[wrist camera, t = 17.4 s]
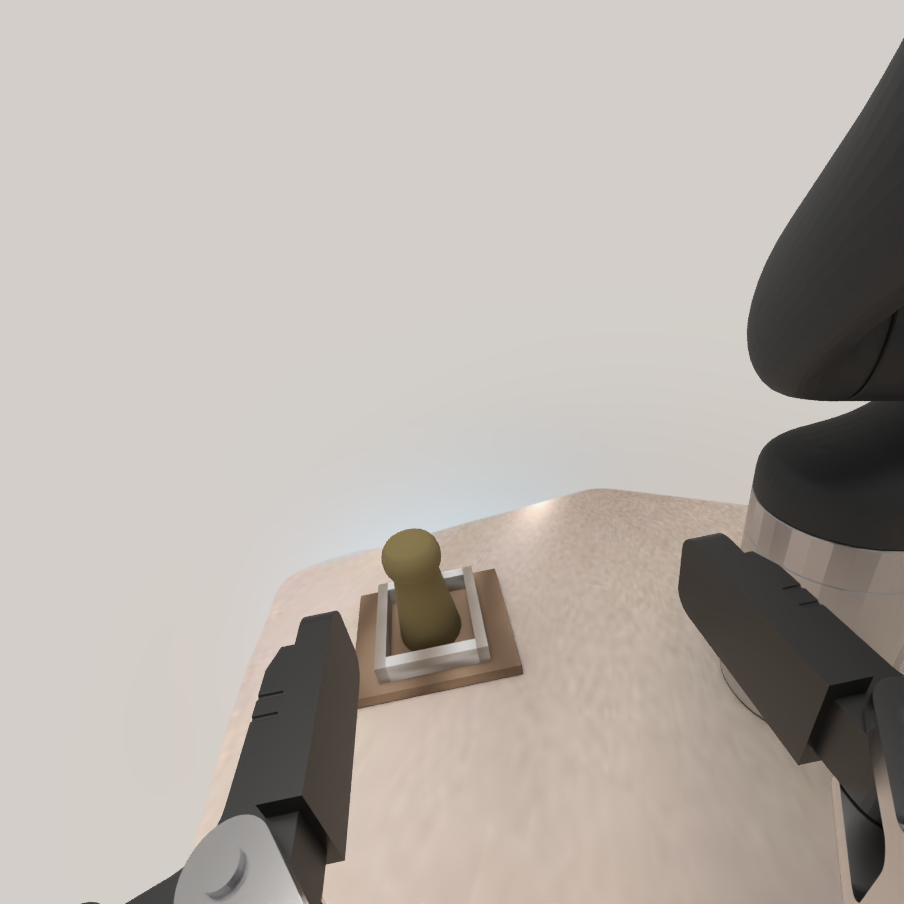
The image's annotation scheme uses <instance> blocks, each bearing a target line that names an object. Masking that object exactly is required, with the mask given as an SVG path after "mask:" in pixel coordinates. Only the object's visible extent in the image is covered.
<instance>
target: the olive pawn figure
mask: <svg viewBox="0 0 904 904" xmlns="http://www.w3.org/2000/svg"><path fill="white" fill-rule="evenodd" d="M440 561H441V551H440V546H439V544H438V542H437V541H436V539H435V537H434V536H433V535H431V534H430V533H429V532H427V531H425V530H422V529H408V530H404V531H401V532H398V533H397V534H395V535H393V536H392V537H391V538H390V539H389V540H388V541H387V542H386V544H385V546H384V548H383V550H382V564H383V567H384V570H385V572H386V574H387V575H388V577H389V578H391V579H392V580H393V581H394V587H395V595H396V602H397V610H398V617H399V625H400V632H401V638H402V640H403V643H404V645H405V646H406V647H407V648H408V649H409V650H411V651H418V650H423V649H427V648H432V647H437V646H442V645H447V644H451V643H454V642H455V640H456V639H457V637H458V636H459V634H460V630H461V626H462V625H461V618H460V615H459V613H458V611H457V608H456V606H455V604H454V601H453V599H452V597H451V594H450V592H449V590H448V587H447V585H446V583H445V580H444V578H443V576H442V573H441V571H440V569H439V565H440Z"/></svg>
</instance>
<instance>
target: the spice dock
mask: <svg viewBox="0 0 904 904" xmlns="http://www.w3.org/2000/svg"><path fill="white" fill-rule="evenodd" d="M441 573H442V576H443V578H444V580H445V583H446V585H447V587H448V590H449V592H450V594H451V597H452V599H453V601H454V604H455V606H456V608H457V611H458V613H459V615H460V618H461V625H462V626H461V630H460V634H459V636H458V637H457V639H456V640H455V642H454V643H451V644H447V645H442V646H437V647H432V648H427V649H423V650H418V651H411V650H409V649H408V648H407V647H406V646H405V645H404V643H403V640H402V638H401V632H400V625H399V617H398V610H397V602H396V595H395V587H394V582H391V583H386V584H381V585H379V587H378V593H374V594H369V595H364V596H361V602H360V612H359V622H358V632H357V642H356V654H357V658H358V662H359V671H360V685H359V697H358V708H362V707H367V706H372V705H377V704H381V703H386V702H391V701H396V700H400V699H405V698H410V697H415V696H419V695H424V694H429V693H434V692H438V691H443V690H448V689H453V688H458V687H462V686H467V685H472V684H477V683H481V682H486V681H491V680H496V679H500V678H505V677H510V676H515V675H519V674H523V672H522V665H521V661H520V658H519V654H518V650H517V647H516V643H515V640H514V636H513V633H512V629H511V625H510V622H509V618H508V615H507V611H506V607H505V604H504V600H503V597H502V593H501V589H500V586H499V582H498V579H497V575H496V572H495V569H491V570H486V571H481V572H476V573H473V572H472V567H471V566H469V567H464V568H459V569H454V570H449V571H444V572H441Z"/></svg>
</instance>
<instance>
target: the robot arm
mask: <svg viewBox="0 0 904 904" xmlns="http://www.w3.org/2000/svg"><path fill="white" fill-rule="evenodd" d="M747 327H748V328H747V341H748V351H749V355H750V360H751V362H752V365H753V367H754V369H755V371H756V373H757V374H758V376H759V377H760V379H761V380H762V381H763V382H764V383H765V384H766V385H767V386H769V387H770V388H771V389H772V390H774V391H776V392H779V393H781V394H783V395H786V396H789V397H794V398H800V399H808V400H818V401H871V402H869V403H867V404H866V405H863V406H861V407H860V408H857V409H855V410H853V411H851V412H849V413H846V414H843V415H840V416H838V417H835V418H831V419H828V420H825V421H821V422H817V423H814V424H810V425H807V426H803V427H799V428H796V429H793V430H790V431H787V432H785V433H783V434H781V435H779V436H777V437H775V438H774V439H772V440H771V441H770V442H769V443H767V445H766V446H765V447H764V448H763V449H762V451H761V453H760V455H759V458H758V461H757V464H756V469H755V475H754V480H753V485H752V490H751V495H750V500H749V506H748V511H747V516H746V523H745V528H744V533H743V538H742V544H741V549H740V548H739V547H738V546H737V545H736V544H735V543H734V542H733V541H732V540H731V539H729V538H728V537H727V536H726V535H724V534H722V533H717V534H712V535H707V536H702V537H698V538H693V539H688V540H686V541H685V542H684V543H683V548H682V557H681V566H680V576H679V585H678V591H679V597H680V600H681V603H682V605H683V608H684V610H685V612H686V613H687V615H688V616H689V618H690V619H691V620H692V622H693V623H694V624H695V626H696V627H697V629H698V630H699V631H700V633H701V634H702V635H703V637H704V638H705V639H706V641H707V642H708V643H709V645H710V646H711V647H712V649H713V650H714V652H715V653H716V654H717V656H718V657H719V658H720V661H721V668H722V671H723V674H724V677H725V679H726V681H727V683H728V684H729V686H730V688H731V689H732V691H733V692H734V693H735V694H736V695H737V697H738V698H739V699H740V700H741V701H742V702H743V703H744V704H745V705H746V706H747V707H749V708H750V709H751V710H752V711H753V712H754V713H756V714H757V715H759V716H760V717H762V718H763V719H765V721H766V722H767V723H768V725H769V726H770V727H771V729H772V730H773V731H774V733H775V734H776V736H777V737H778V738H779V740H780V741H781V742H782V744H783V745H784V746H785V748H786V749H787V750H788V752H789V753H790V755H791V756H792V757H793V759H794V760H795V761H796V763H797V764H798V765H801V764H806V763H810V762H815V761H820V760H822V761H823V762H824V764H825V765H826V766H827V768H828V769H829V770H830V771H831V773H832V774H833V776H832V780H831V789H832V799H833V808H834V818H835V828H836V837H837V847H838V856H839V866H840V875H841V885H842V895H843V904H904V675H902V674H901V673H900V672H898V669H899V667H900V665H901V663H902V661H903V659H904V39H903V41H902V42H901V45H900V46H899V48H898V50H897V52H896V53H895V55H894V57H893V59H892V60H891V62H890V64H889V66H888V68H887V69H886V71H885V73H884V75H883V76H882V78H881V80H880V82H879V83H878V85H877V87H876V88H875V90H874V92H873V93H872V95H871V97H870V98H869V100H868V102H867V104H866V105H865V107H864V109H863V110H862V112H861V113H860V115H859V116H858V118H857V120H856V121H855V123H854V124H853V126H852V127H851V129H850V130H849V132H848V133H847V135H846V136H845V138H844V140H843V141H842V142H841V144H840V145H839V147H838V148H837V150H836V152H835V153H834V154H833V156H832V157H831V159H830V160H829V162H828V164H827V165H826V167H825V168H824V170H823V171H822V173H821V174H820V176H819V177H818V179H817V180H816V182H815V183H814V185H813V186H812V188H811V189H810V191H809V192H808V194H807V196H806V197H805V198H804V200H803V202H802V203H801V205H800V206H799V207H798V209H797V210H796V212H795V214H794V215H793V217H792V218H791V220H790V221H789V223H788V224H787V226H786V228H785V229H784V231H783V232H782V234H781V236H780V237H779V239H778V241H777V243H776V244H775V246H774V248H773V250H772V252H771V254H770V256H769V258H768V260H767V262H766V264H765V266H764V269H763V271H762V273H761V276H760V279H759V281H758V284H757V287H756V290H755V293H754V296H753V300H752V303H751V309H750V313H749V317H748V326H747ZM359 685H360V671H359V662H358V658H357V654H356V651H355V649H354V646H353V644H352V642H351V639H350V637H349V634H348V632H347V629H346V627H345V625H344V622H343V620H342V617H341V615H340V613H339V612H338V611H332V612H328V613H323V614H318V615H313V616H308V617H304V618H303V619H302V620H301V622H300V626H299V630H298V634H297V638H296V642H295V645H290V646H285V647H281V649H280V650H279V652H278V653H277V654H276V656H275V657H274V659H273V660H272V662H271V663H270V665H269V666H268V668H267V669H266V671H265V674H264V678H263V681H262V685H261V688H260V691H259V695H258V697H259V699H258V701H256V705H255V708H254V711H253V715H252V722H250V725H249V728H248V732H247V735H246V738H245V742H244V745H243V749H242V752H241V755H240V759H239V762H238V765H237V769H236V772H235V775H234V779H233V782H232V786H231V789H230V792H229V796H228V799H227V802H226V806H225V809H224V811H223V814H222V817H221V819H220V821H219V823H218V825H217V827H215V828H214V829H213V830H212V831H210V832H209V833H208V834H207V835H206V836H205V837H204V838H203V839H202V841H201V842H200V843H199V844H198V845H197V847H196V848H195V849H194V851H193V852H192V854H191V855H190V857H189V859H188V860H187V862H186V864H185V866H184V867H183V868H182V869H181V870H179V871H178V872H177V873H175V874H174V875H172V876H171V877H169V878H168V879H166V880H164V881H162V882H161V883H159V884H157V885H156V886H154V887H152V888H151V889H149V890H147V891H146V892H144V893H142V894H141V895H139V896H137V897H136V898H134V899H132V900H131V901H129V902H127V903H126V904H326V903H325V901H324V899H323V897H322V892H323V883H324V874H325V866H326V864H330V863H335V862H340V861H344V860H345V851H346V839H347V827H348V816H349V804H350V792H351V780H352V768H353V756H354V744H355V733H356V721H357V709H358V697H359ZM82 904H99V903H95V902H88V903H82Z"/></svg>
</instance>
